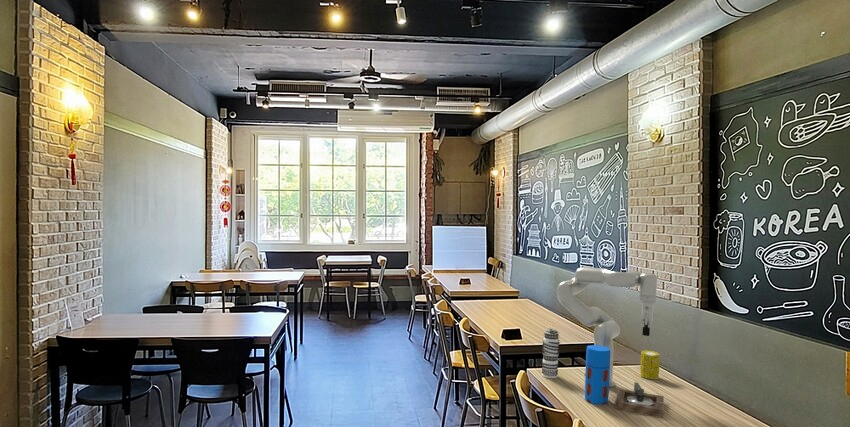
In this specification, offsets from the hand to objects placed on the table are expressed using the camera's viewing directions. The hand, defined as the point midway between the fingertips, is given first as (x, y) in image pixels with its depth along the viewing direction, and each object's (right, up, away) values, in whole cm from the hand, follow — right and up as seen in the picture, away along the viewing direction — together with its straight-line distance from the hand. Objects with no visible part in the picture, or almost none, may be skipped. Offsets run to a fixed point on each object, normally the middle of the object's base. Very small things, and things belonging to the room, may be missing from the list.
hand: (645, 335), depth 268 cm
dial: (-9, -27, -15) cm, 33 cm away
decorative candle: (-42, -27, +23) cm, 55 cm away
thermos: (-28, -28, -12) cm, 42 cm away
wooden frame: (-10, -29, -17) cm, 35 cm away
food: (+13, -29, +26) cm, 41 cm away
